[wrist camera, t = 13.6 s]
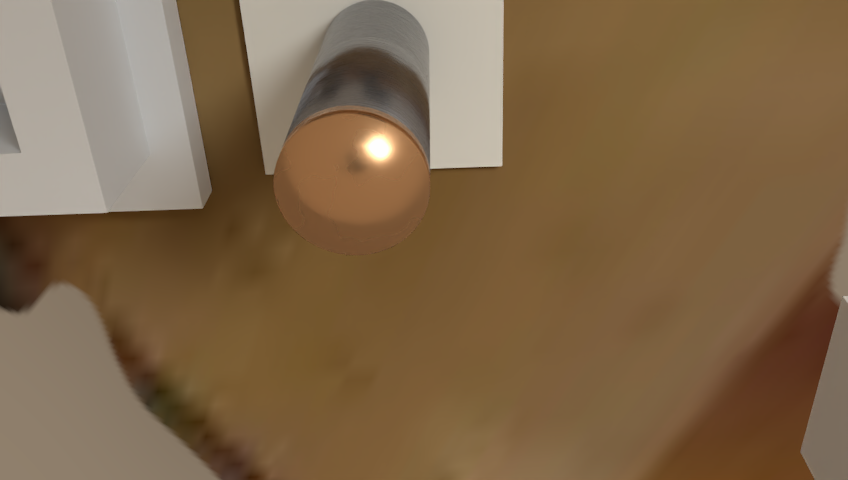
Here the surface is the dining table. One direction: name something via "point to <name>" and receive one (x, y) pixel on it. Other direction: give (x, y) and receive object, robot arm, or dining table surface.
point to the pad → (448, 69)
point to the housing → (97, 109)
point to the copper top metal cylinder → (360, 135)
